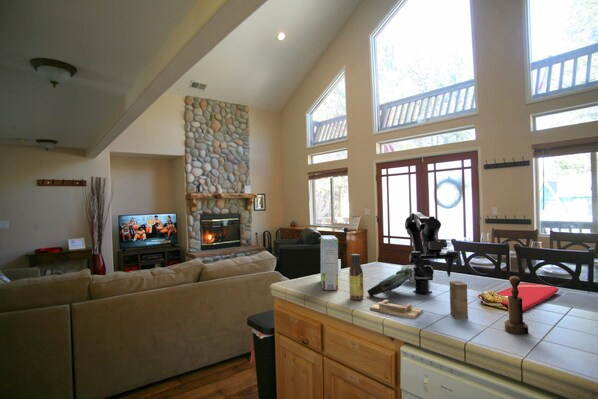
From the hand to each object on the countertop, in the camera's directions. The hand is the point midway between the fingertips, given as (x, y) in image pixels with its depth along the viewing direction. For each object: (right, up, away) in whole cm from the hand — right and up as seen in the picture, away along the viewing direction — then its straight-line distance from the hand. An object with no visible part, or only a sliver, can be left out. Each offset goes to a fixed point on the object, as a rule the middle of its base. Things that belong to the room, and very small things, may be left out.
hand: (437, 276), depth 132 cm
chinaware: (+8, -14, +46) cm, 48 cm away
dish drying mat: (+42, -13, +12) cm, 45 cm away
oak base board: (-17, -14, -1) cm, 22 cm away
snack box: (-39, -15, +43) cm, 60 cm away
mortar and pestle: (+16, -13, -23) cm, 31 cm away
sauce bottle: (-29, -14, +17) cm, 37 cm away
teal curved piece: (-18, -13, +27) cm, 35 cm away
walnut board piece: (+5, -13, -8) cm, 16 cm away
